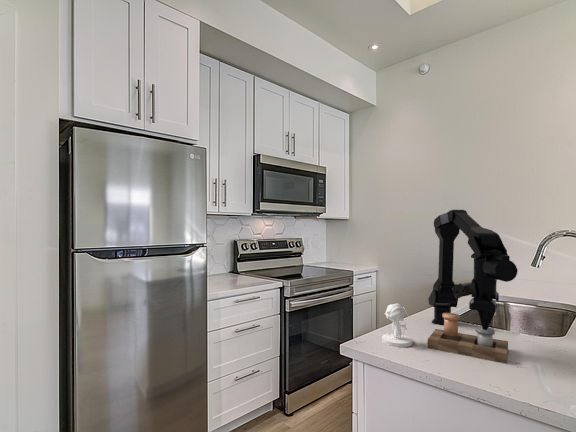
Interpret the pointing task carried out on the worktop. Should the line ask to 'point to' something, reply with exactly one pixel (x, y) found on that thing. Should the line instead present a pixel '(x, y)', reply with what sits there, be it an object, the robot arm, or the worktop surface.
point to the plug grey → (485, 337)
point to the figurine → (396, 327)
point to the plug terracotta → (451, 324)
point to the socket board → (468, 346)
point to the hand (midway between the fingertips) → (484, 329)
